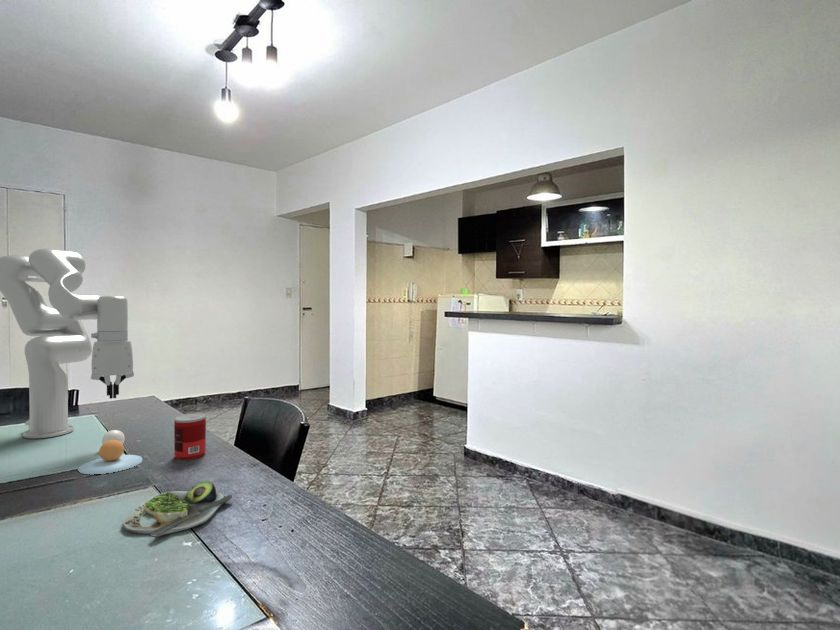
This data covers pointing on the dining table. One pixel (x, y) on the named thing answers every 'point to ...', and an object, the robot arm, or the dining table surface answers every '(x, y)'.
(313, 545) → the dining table surface
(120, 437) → the white egg
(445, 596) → the dining table surface
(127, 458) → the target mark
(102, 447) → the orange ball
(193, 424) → the canned food
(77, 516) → the dining table surface
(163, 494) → the avocado toast plate
